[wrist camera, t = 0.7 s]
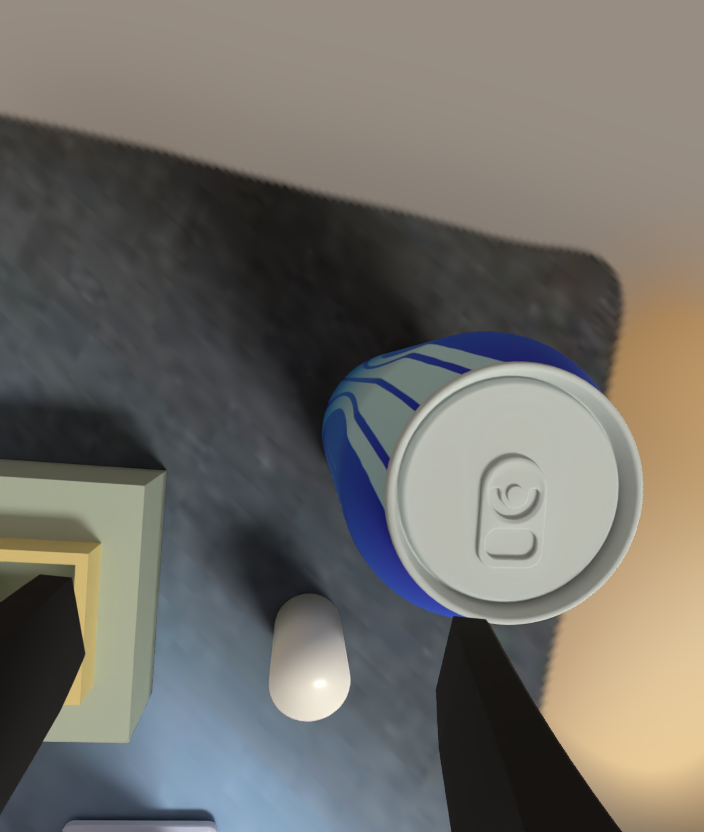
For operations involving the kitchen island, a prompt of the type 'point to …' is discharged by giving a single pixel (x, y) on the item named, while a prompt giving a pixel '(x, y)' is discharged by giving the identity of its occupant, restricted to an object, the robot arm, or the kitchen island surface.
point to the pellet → (308, 659)
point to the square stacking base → (91, 578)
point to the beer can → (483, 476)
